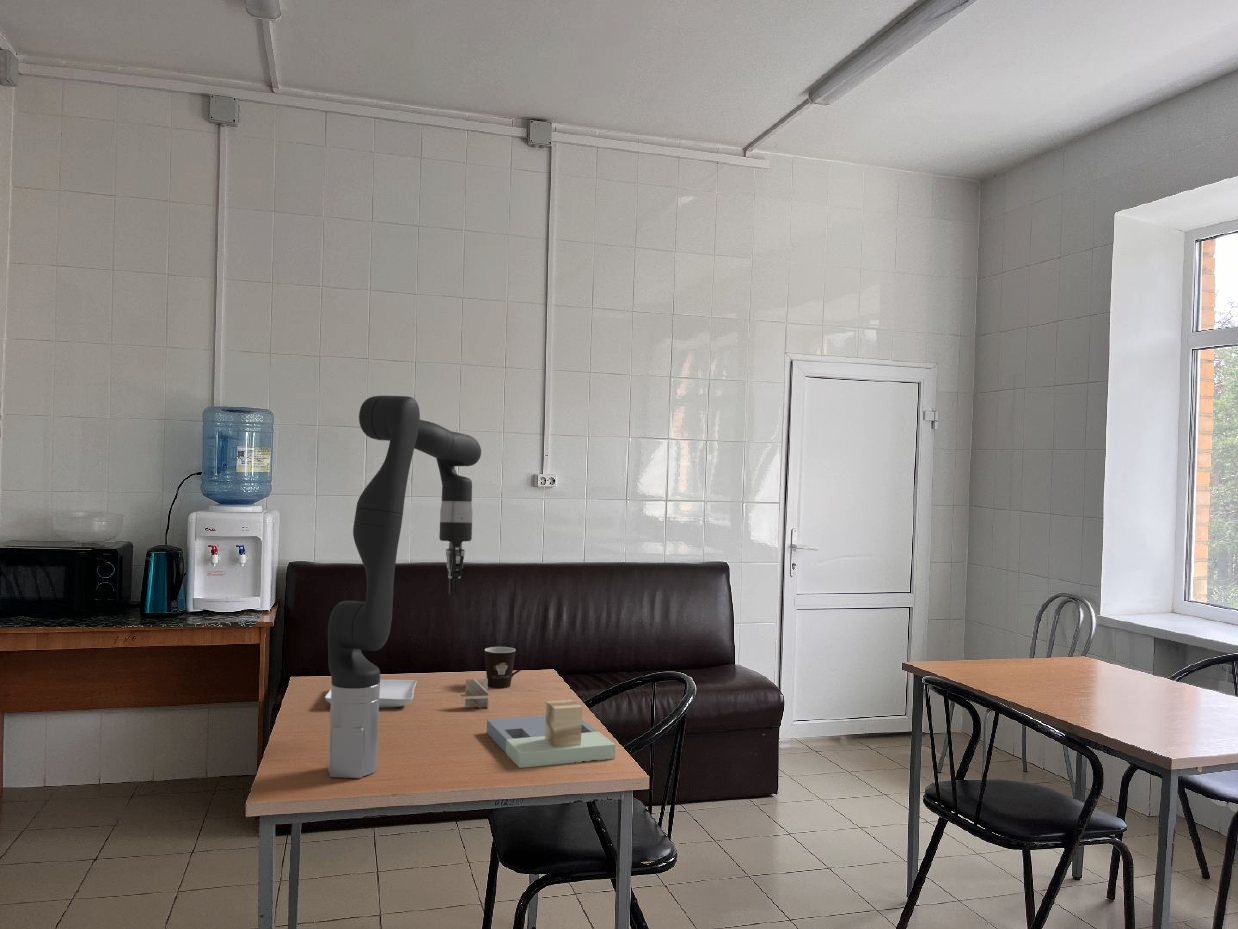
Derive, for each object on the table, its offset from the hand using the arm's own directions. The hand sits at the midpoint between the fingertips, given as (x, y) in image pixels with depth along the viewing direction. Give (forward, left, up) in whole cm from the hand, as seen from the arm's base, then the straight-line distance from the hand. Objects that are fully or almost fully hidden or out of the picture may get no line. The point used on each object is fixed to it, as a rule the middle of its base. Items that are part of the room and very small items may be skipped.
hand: (453, 594), depth 216 cm
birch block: (-20, -28, -28) cm, 44 cm away
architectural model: (+16, -4, -31) cm, 35 cm away
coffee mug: (+40, -7, -31) cm, 51 cm away
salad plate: (+20, +24, -31) cm, 44 cm away
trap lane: (-13, -25, -31) cm, 41 cm away
